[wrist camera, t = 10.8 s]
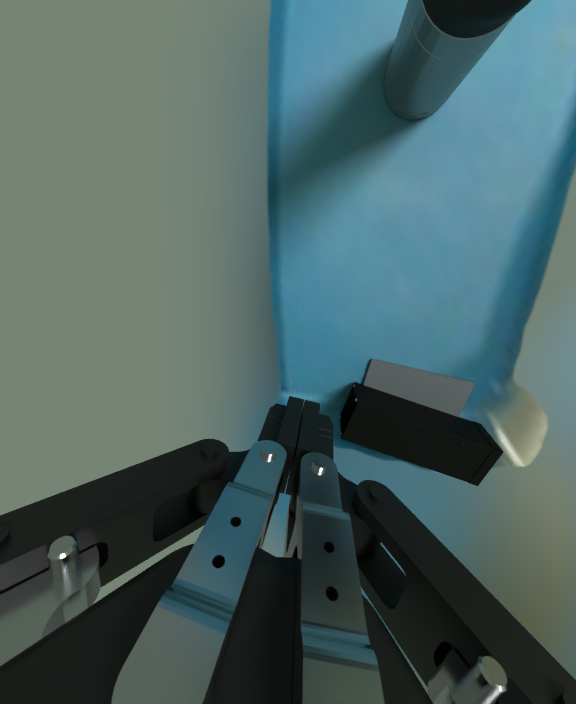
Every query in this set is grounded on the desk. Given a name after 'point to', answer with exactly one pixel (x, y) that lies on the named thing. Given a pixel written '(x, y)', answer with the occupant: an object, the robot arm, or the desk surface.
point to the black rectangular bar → (418, 434)
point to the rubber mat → (419, 386)
